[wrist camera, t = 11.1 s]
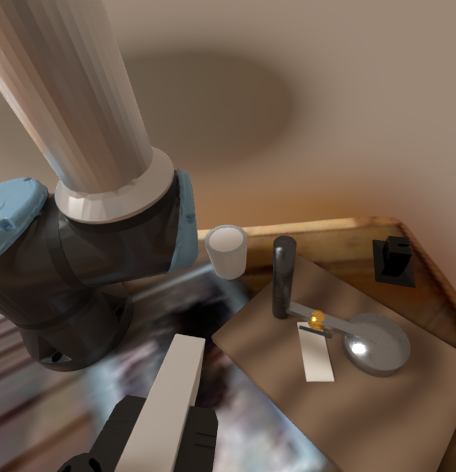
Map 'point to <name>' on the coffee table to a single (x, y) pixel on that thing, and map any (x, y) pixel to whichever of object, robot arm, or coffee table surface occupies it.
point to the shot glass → (227, 250)
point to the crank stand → (346, 378)
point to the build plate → (393, 261)
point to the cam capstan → (341, 321)
